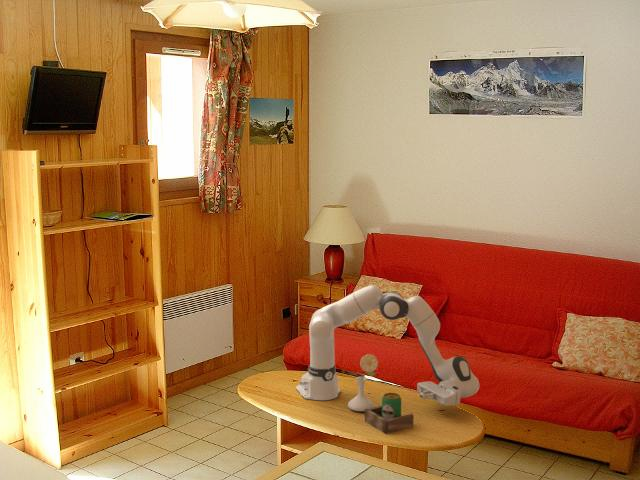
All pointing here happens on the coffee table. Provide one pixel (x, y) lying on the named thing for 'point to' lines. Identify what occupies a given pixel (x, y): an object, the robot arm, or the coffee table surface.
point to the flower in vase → (361, 400)
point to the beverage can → (391, 406)
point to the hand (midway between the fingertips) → (421, 396)
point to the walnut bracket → (390, 425)
